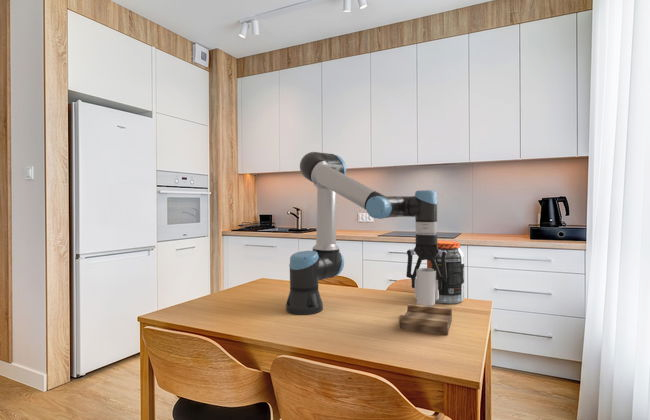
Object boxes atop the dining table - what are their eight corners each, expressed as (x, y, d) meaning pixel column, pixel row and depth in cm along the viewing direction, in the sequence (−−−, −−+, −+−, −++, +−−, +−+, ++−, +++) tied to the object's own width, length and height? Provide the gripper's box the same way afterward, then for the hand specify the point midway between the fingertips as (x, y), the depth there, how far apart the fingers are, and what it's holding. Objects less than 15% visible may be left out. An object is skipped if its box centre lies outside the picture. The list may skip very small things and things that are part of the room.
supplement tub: (471, 300, 167) (471, 242, 166) (448, 306, 158) (448, 244, 157) (442, 293, 180) (442, 239, 179) (419, 298, 171) (419, 241, 170)
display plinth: (399, 329, 131) (399, 316, 131) (408, 315, 147) (408, 303, 147) (447, 335, 125) (447, 322, 125) (451, 320, 141) (451, 308, 141)
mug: (430, 307, 130) (431, 272, 129) (412, 303, 134) (413, 270, 133) (442, 301, 137) (442, 268, 137) (424, 298, 142) (425, 266, 141)
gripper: (396, 234, 135) (397, 298, 136) (454, 235, 128) (454, 303, 128) (401, 232, 142) (401, 293, 143) (456, 233, 135) (456, 298, 135)
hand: (426, 298), depth 136 cm, fingers closed on mug, 6 cm apart
